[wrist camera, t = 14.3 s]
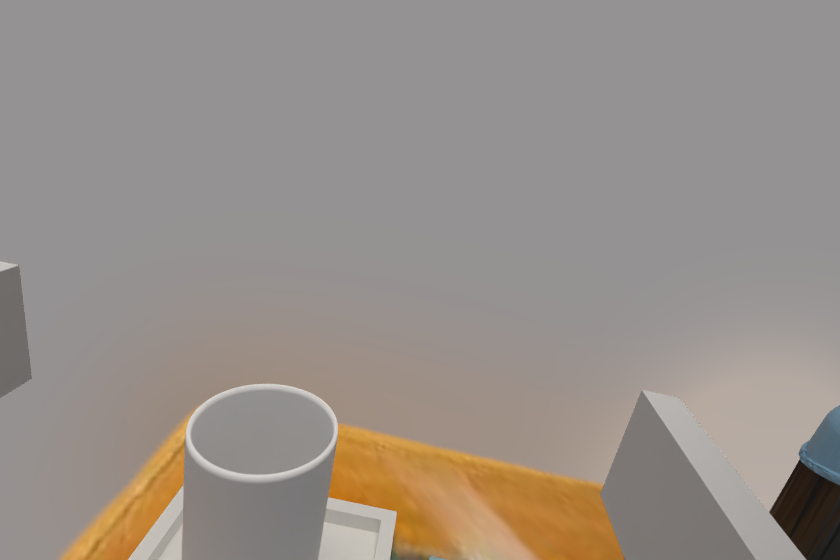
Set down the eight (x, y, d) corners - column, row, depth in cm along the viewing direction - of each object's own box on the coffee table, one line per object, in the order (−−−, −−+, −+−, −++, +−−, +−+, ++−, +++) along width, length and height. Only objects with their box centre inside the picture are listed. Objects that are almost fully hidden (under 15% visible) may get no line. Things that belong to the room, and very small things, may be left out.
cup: (330, 636, 32) (366, 444, 27) (203, 721, 27) (216, 502, 21) (277, 545, 38) (298, 372, 32) (163, 600, 32) (166, 403, 27)
